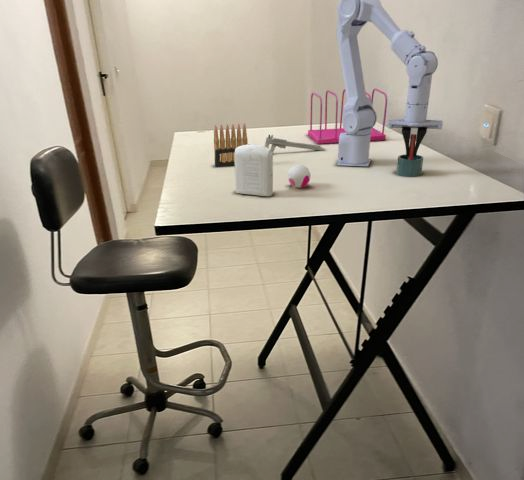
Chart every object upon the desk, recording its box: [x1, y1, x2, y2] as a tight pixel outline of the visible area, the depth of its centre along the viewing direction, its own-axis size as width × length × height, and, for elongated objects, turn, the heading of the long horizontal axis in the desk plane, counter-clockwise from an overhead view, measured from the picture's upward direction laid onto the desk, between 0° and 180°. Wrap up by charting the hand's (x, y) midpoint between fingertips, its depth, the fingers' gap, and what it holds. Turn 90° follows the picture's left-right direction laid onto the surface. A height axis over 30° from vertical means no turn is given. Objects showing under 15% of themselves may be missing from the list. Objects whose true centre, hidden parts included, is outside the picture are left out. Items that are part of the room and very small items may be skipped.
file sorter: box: [307, 87, 388, 145], centre depth 191 cm, size 17×25×16 cm
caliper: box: [264, 134, 325, 154], centre depth 176 cm, size 20×1×6 cm, turn 102°
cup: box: [396, 153, 424, 177], centre depth 151 cm, size 7×7×4 cm
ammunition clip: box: [213, 123, 249, 168], centre depth 162 cm, size 11×2×12 cm, turn 101°
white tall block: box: [234, 143, 274, 197], centre depth 136 cm, size 10×4×12 cm, turn 68°
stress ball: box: [287, 164, 311, 189], centre depth 142 cm, size 8×8×7 cm
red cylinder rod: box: [408, 133, 417, 160], centre depth 149 cm, size 2×2×10 cm
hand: (411, 155), depth 150 cm, fingers closed on red cylinder rod, 1 cm apart
